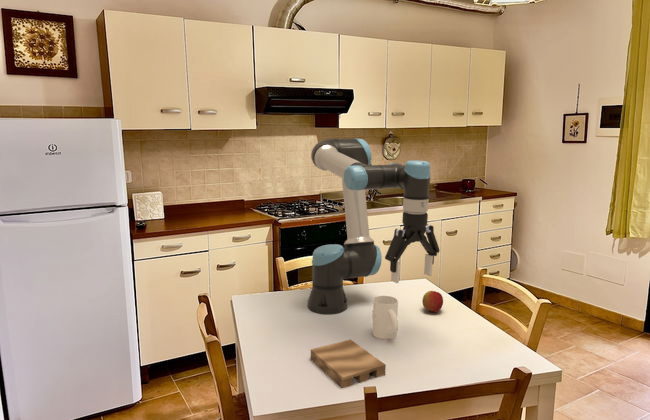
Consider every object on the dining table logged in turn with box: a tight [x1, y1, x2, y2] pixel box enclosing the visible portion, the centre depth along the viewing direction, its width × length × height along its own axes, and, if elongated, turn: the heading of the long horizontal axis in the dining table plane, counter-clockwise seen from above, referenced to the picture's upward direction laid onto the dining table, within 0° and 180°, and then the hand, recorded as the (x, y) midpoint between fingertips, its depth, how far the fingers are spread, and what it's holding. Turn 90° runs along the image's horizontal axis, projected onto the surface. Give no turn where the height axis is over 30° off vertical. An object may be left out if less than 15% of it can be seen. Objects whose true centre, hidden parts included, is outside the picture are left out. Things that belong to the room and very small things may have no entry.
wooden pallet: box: [310, 339, 387, 389], centre depth 136 cm, size 18×14×3 cm
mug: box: [371, 295, 399, 340], centre depth 154 cm, size 8×12×12 cm
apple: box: [422, 290, 444, 313], centre depth 176 cm, size 8×8×8 cm
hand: (411, 278), depth 148 cm, fingers open, 13 cm apart
